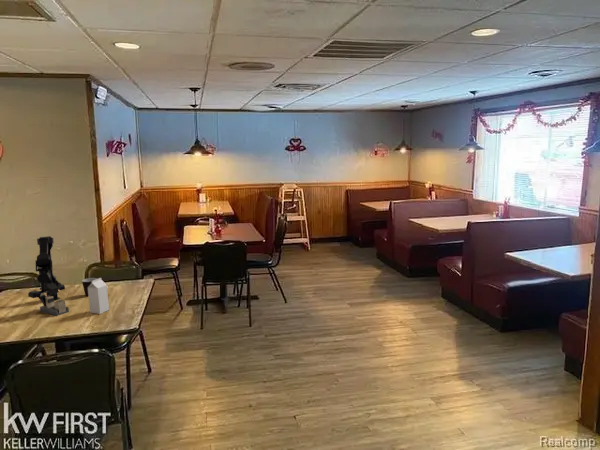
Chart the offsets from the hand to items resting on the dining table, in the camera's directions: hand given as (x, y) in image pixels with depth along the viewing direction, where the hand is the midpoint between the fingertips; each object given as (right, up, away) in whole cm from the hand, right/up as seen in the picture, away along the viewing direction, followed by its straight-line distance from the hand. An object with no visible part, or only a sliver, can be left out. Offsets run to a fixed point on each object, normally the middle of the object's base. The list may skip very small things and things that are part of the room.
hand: (48, 304), depth 266 cm
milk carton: (+31, -3, -4) cm, 32 cm away
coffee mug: (+12, +2, +29) cm, 31 cm away
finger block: (0, -1, 0) cm, 1 cm away
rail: (+4, -4, -2) cm, 6 cm away
